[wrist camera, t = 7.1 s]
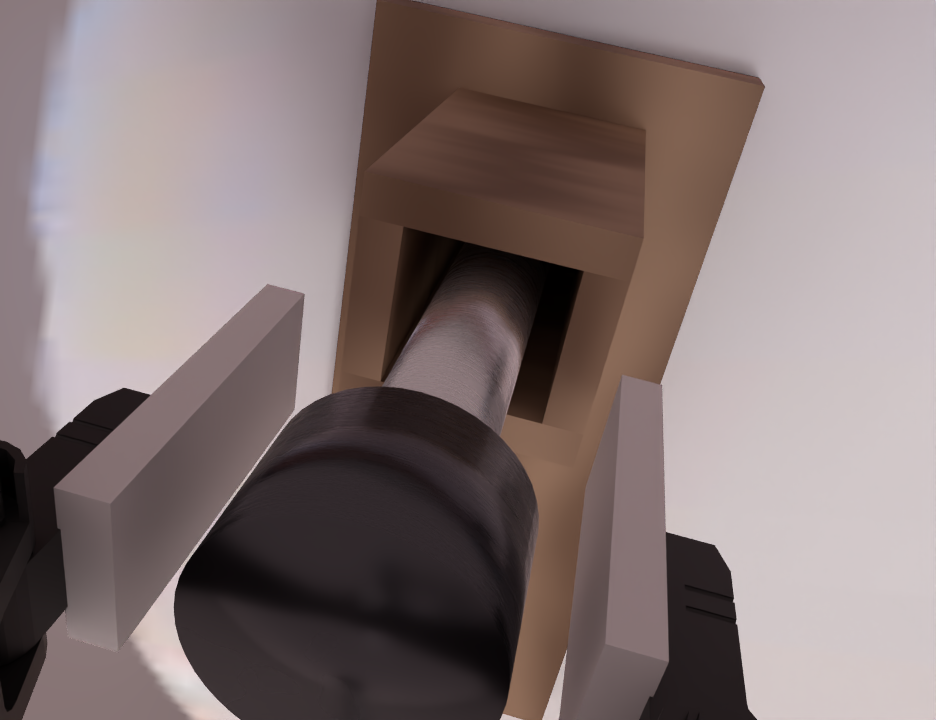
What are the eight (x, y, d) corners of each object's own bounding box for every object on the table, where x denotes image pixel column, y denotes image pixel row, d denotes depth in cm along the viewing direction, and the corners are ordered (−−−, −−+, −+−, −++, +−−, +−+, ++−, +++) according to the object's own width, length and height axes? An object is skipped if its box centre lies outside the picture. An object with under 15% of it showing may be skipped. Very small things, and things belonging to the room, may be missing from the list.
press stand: (759, 78, 26) (828, 179, 16) (543, 698, 40) (508, 952, 30) (390, -5, 26) (234, 41, 17) (312, 631, 41) (206, 856, 31)
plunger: (612, 157, 25) (546, 576, 9) (577, 286, 27) (474, 808, 11) (473, 124, 25) (173, 474, 9) (450, 254, 28) (173, 716, 12)
